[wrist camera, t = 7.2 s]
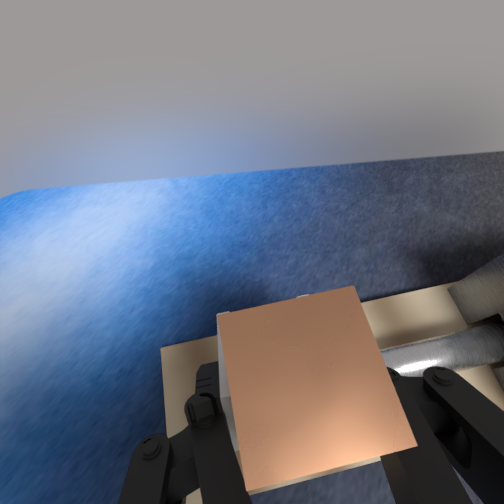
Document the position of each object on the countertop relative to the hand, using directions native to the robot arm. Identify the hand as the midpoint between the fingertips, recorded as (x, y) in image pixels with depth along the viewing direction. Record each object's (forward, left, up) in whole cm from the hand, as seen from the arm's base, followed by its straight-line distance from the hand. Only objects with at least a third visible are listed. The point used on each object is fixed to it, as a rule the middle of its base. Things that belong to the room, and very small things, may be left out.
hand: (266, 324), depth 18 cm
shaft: (+9, -1, -5) cm, 10 cm away
